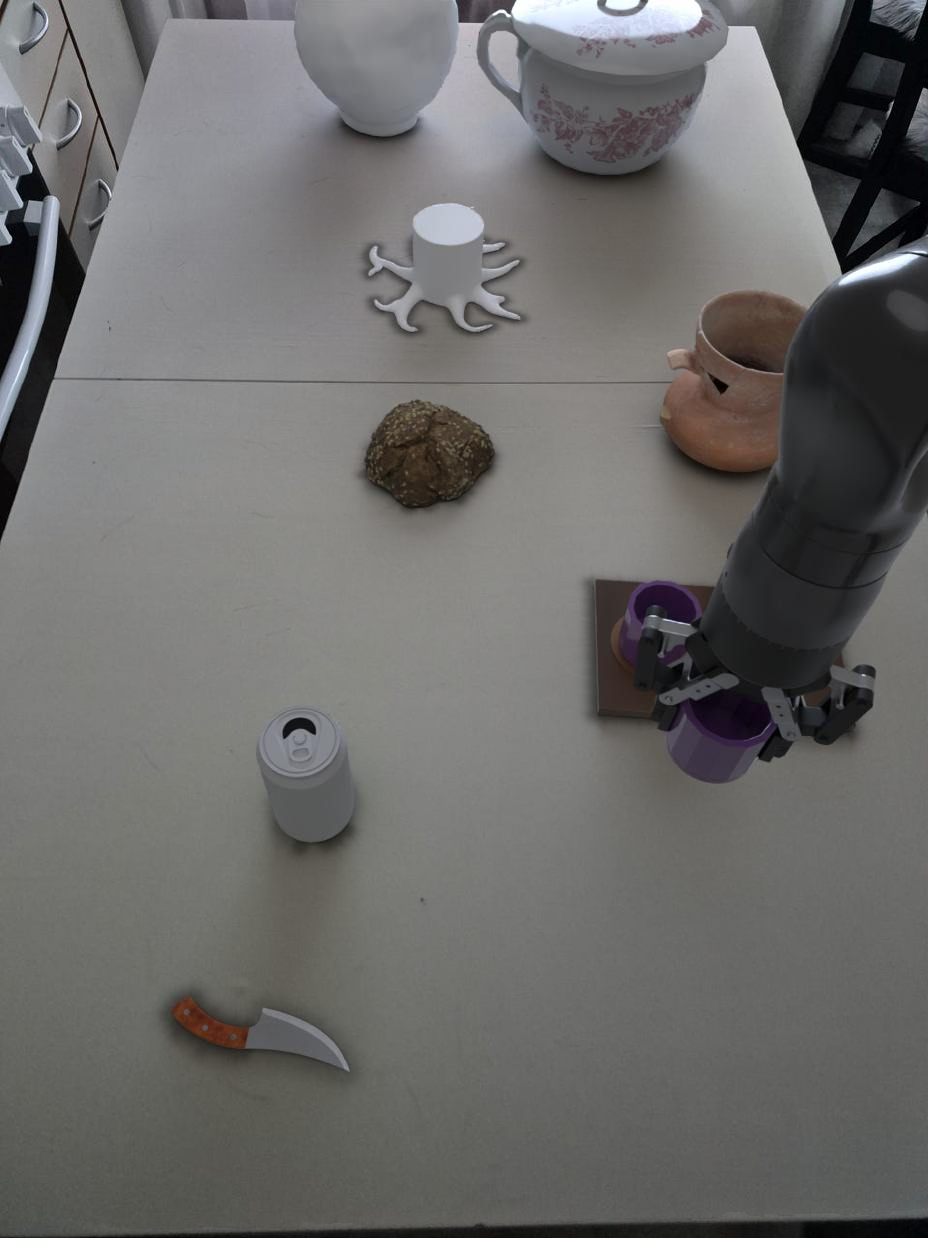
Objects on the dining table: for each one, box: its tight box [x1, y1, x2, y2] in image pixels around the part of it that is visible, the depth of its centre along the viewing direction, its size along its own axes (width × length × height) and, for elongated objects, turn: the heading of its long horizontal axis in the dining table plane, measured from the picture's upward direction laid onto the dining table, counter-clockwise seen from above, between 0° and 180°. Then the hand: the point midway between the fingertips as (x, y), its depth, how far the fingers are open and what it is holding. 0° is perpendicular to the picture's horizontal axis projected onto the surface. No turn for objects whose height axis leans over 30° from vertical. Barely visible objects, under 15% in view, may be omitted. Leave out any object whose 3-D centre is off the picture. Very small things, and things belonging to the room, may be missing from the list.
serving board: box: [593, 578, 856, 732], centre depth 87 cm, size 22×14×1 cm, turn 87°
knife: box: [170, 997, 351, 1073], centre depth 67 cm, size 13×1×3 cm
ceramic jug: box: [659, 288, 810, 473], centre depth 97 cm, size 18×14×14 cm
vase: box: [293, 0, 460, 138], centre depth 124 cm, size 19×21×30 cm
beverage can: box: [255, 704, 356, 843], centre depth 72 cm, size 6×6×12 cm
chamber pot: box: [475, 0, 730, 176], centre depth 126 cm, size 28×28×21 cm
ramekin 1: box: [618, 579, 702, 667], centre depth 84 cm, size 6×6×5 cm
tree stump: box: [367, 201, 521, 333], centre depth 113 cm, size 20×19×8 cm
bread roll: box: [364, 398, 496, 508], centre depth 97 cm, size 13×12×5 cm
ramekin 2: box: [664, 691, 778, 785], centre depth 63 cm, size 6×6×5 cm
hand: (714, 734), depth 65 cm, fingers closed on ramekin 2, 6 cm apart
